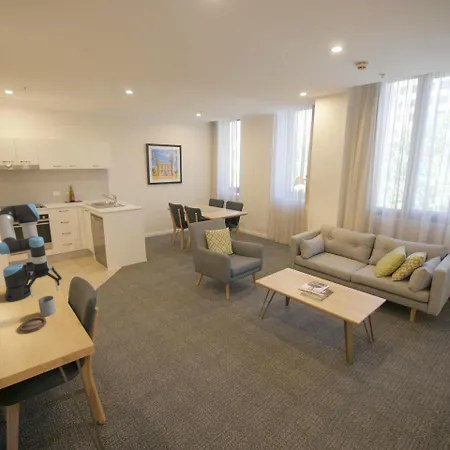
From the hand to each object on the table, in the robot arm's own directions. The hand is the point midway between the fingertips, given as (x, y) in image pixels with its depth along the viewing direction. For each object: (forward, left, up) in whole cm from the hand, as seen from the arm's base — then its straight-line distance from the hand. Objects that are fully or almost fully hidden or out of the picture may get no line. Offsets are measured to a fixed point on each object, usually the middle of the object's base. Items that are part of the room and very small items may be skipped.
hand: (45, 293), depth 182 cm
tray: (+11, -9, -14) cm, 20 cm away
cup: (0, 0, -14) cm, 14 cm away
